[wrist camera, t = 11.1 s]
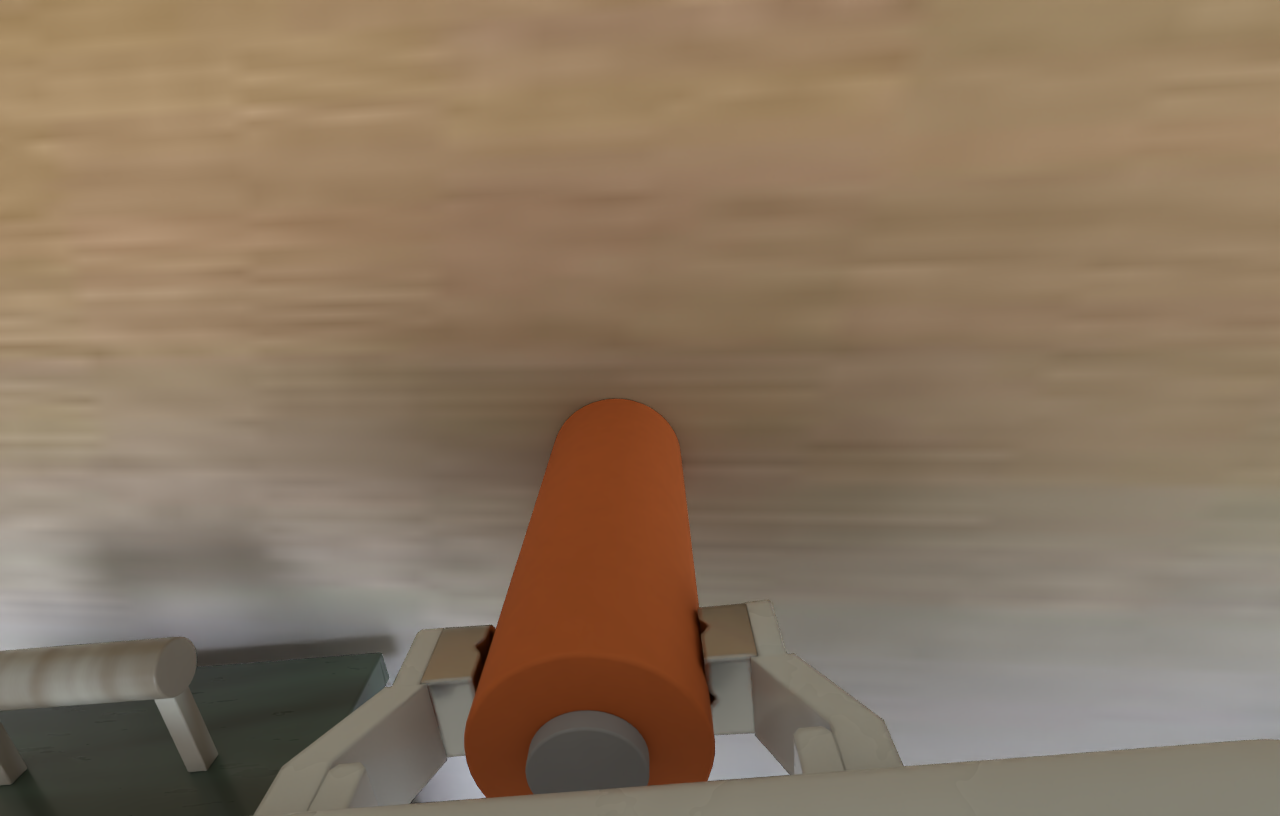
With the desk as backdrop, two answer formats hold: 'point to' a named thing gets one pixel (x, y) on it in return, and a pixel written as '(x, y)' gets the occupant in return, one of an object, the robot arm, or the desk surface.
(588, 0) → the desk surface
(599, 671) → the roller
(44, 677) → the drawer
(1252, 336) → the desk surface
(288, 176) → the desk surface
